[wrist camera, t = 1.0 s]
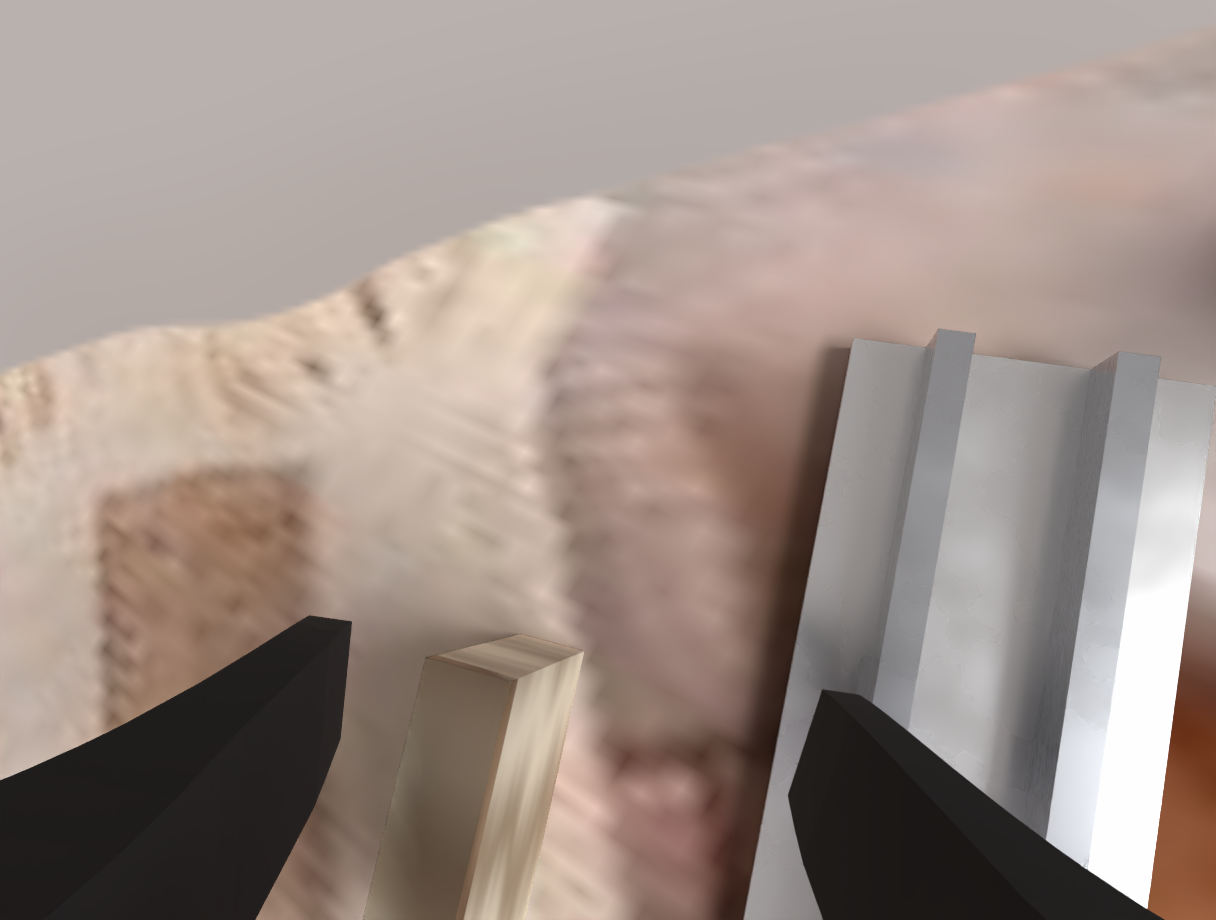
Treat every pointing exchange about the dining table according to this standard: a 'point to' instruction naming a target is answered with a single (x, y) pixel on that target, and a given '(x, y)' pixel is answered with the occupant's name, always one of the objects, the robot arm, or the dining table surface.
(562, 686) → the door panel
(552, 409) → the dining table surface
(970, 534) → the track
